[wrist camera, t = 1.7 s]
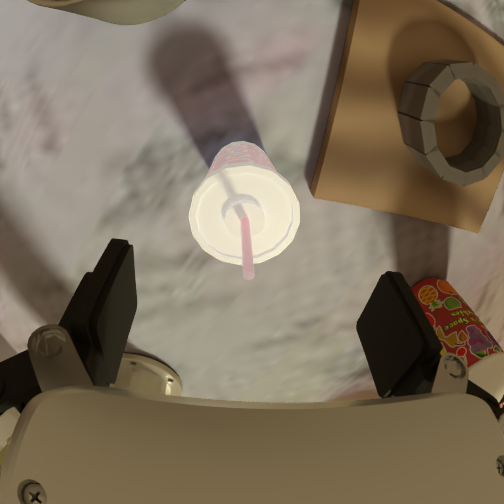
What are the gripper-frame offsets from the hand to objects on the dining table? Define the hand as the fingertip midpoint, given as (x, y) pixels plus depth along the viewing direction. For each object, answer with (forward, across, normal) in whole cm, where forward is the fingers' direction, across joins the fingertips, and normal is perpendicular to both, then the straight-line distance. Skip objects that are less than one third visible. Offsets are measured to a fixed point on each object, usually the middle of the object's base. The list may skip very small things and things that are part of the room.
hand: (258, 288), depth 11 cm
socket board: (+16, -16, -8) cm, 24 cm away
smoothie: (+16, -24, +12) cm, 31 cm away
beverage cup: (+16, 0, +1) cm, 16 cm away
